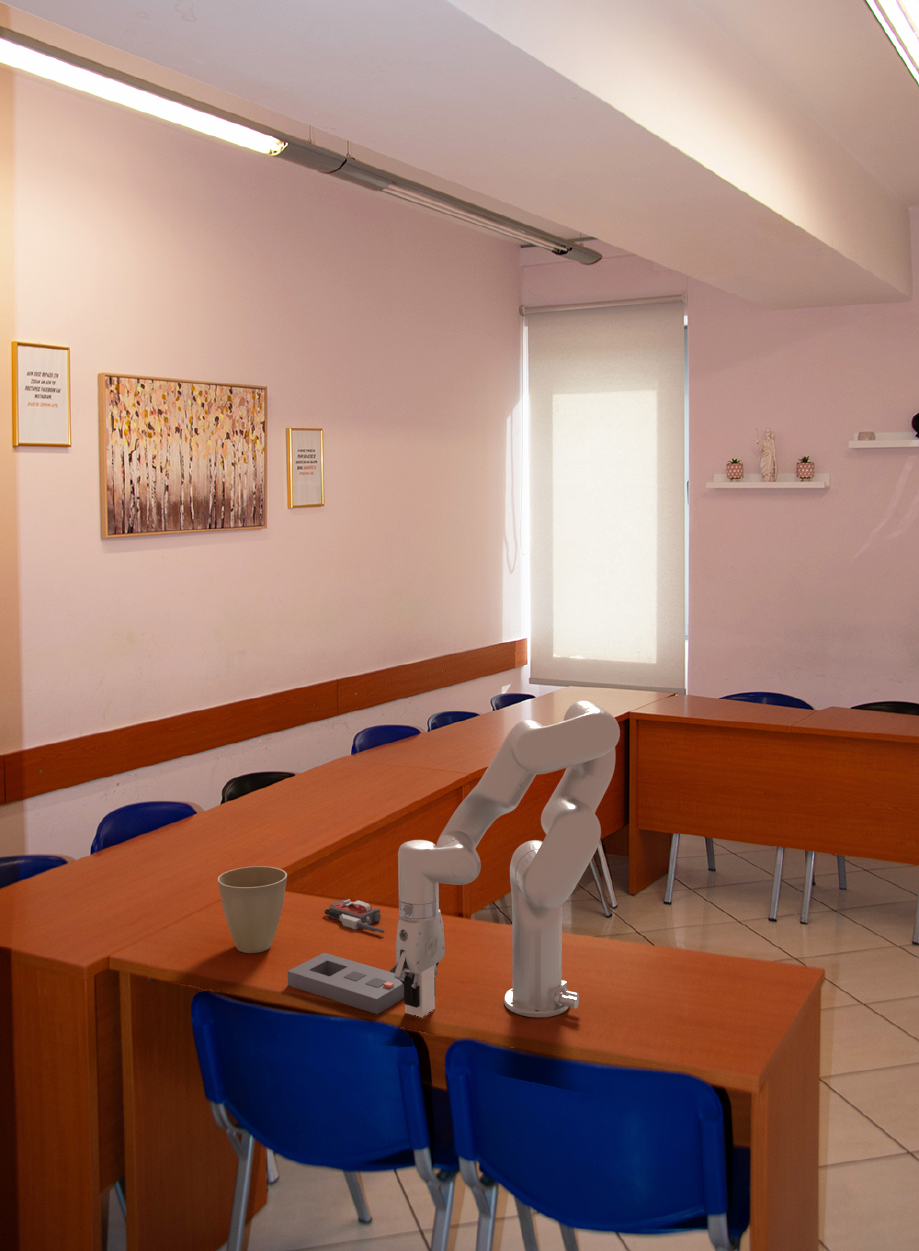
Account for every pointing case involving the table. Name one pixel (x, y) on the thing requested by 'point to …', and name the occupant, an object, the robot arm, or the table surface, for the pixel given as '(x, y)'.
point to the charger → (424, 993)
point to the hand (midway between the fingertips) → (419, 999)
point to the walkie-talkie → (355, 914)
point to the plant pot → (253, 905)
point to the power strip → (348, 982)
